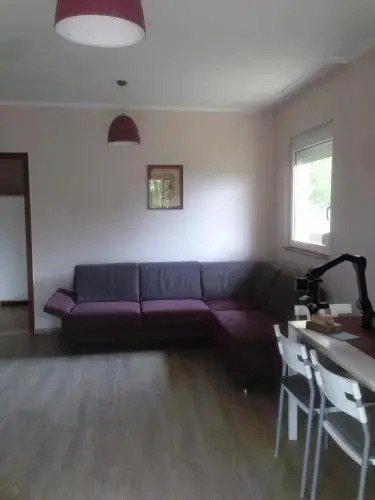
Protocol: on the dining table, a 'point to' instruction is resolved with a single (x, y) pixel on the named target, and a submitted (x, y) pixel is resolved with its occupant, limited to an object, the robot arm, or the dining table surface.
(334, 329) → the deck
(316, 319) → the tile lower
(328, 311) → the donut
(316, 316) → the tile upper
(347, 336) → the mat
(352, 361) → the dining table surface
